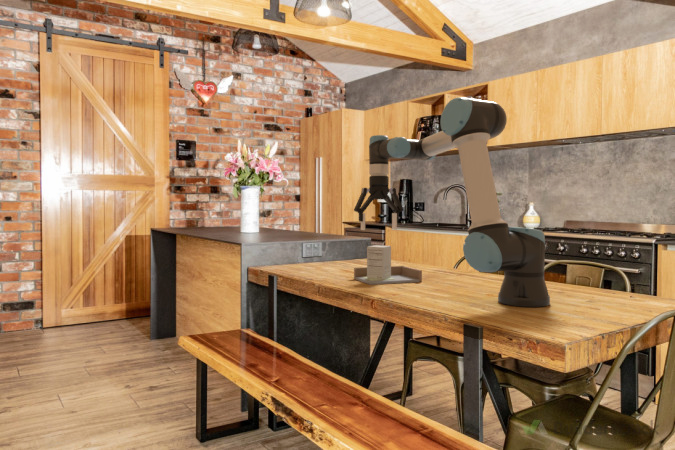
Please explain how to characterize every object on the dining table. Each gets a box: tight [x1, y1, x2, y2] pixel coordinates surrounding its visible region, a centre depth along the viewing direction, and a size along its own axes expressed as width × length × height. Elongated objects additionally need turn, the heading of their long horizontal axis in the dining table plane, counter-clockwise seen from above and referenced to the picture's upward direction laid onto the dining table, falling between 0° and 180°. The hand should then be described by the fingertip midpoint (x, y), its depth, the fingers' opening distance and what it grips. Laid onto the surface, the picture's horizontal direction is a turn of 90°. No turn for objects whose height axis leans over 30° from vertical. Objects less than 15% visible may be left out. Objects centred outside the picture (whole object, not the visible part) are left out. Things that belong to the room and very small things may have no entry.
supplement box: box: [366, 245, 392, 280], centre depth 209 cm, size 7×7×13 cm
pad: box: [362, 277, 395, 281], centre depth 210 cm, size 10×10×1 cm
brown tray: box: [353, 265, 423, 286], centre depth 211 cm, size 16×22×4 cm
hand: (378, 229), depth 209 cm, fingers open, 13 cm apart
